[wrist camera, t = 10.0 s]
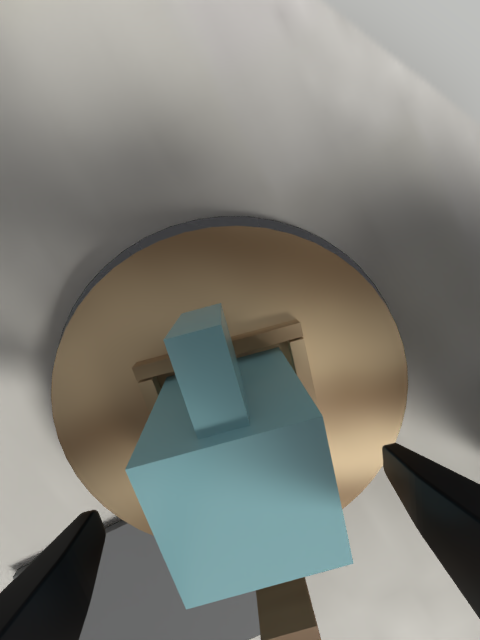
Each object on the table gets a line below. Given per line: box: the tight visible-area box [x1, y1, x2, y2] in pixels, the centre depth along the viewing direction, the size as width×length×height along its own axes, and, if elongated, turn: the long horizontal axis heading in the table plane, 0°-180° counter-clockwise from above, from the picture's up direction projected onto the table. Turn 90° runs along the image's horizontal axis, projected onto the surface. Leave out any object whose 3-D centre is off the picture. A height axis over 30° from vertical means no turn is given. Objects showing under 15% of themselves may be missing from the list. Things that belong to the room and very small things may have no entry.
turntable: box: [51, 226, 408, 640], centre depth 10 cm, size 16×16×5 cm
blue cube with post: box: [125, 303, 353, 609], centre depth 9 cm, size 8×5×5 cm, turn 14°
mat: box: [13, 520, 260, 640], centre depth 16 cm, size 12×12×1 cm
